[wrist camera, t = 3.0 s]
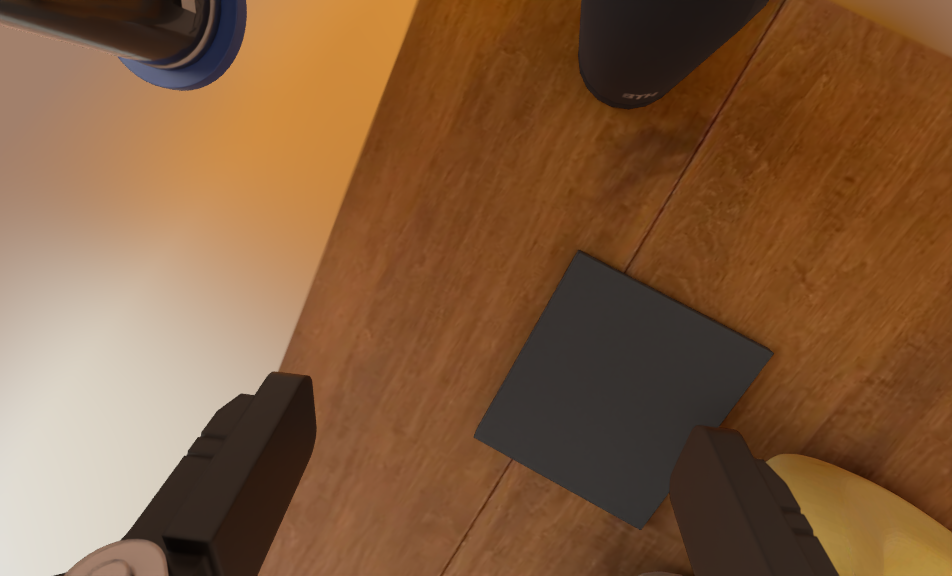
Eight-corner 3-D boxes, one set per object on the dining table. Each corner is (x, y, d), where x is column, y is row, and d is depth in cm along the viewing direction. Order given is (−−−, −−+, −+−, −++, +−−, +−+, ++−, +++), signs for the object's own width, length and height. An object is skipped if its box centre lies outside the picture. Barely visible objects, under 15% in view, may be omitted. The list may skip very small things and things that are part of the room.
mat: (475, 430, 37) (473, 437, 36) (578, 249, 32) (578, 251, 32) (639, 521, 36) (640, 530, 35) (768, 348, 32) (774, 353, 31)
